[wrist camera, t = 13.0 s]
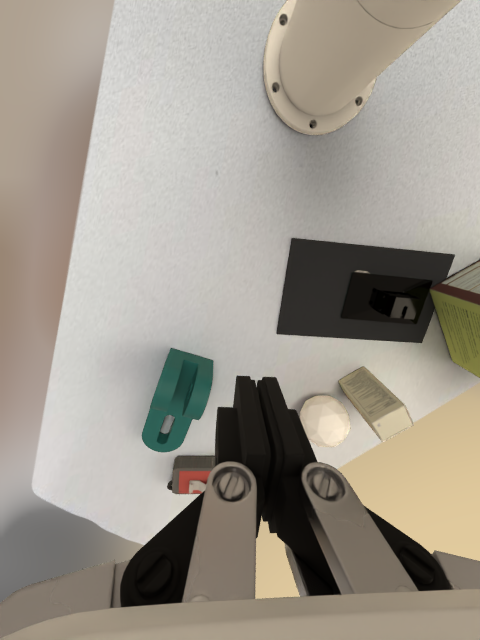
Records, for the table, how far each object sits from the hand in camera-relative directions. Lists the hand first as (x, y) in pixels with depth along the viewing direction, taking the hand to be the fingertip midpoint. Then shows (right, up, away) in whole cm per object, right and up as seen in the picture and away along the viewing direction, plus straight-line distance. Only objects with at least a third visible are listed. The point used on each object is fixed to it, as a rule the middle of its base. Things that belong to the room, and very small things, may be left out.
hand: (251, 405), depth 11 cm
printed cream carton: (+19, -7, +33) cm, 39 cm away
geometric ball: (+13, -11, +34) cm, 38 cm away
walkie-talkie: (-4, -25, +38) cm, 46 cm away
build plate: (+21, +7, +28) cm, 36 cm away
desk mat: (+18, +7, +28) cm, 34 cm away
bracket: (-11, -9, +32) cm, 35 cm away
